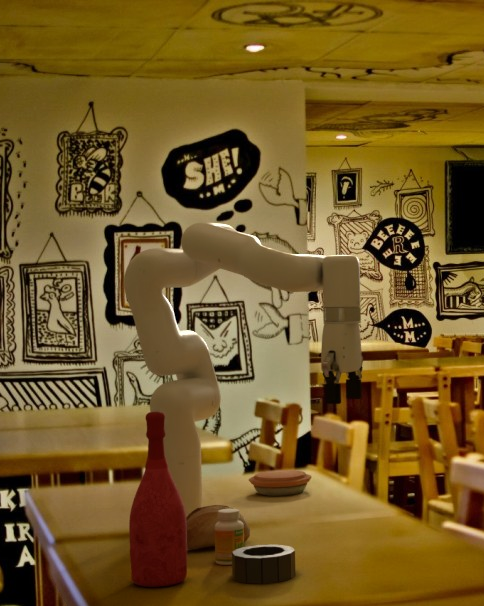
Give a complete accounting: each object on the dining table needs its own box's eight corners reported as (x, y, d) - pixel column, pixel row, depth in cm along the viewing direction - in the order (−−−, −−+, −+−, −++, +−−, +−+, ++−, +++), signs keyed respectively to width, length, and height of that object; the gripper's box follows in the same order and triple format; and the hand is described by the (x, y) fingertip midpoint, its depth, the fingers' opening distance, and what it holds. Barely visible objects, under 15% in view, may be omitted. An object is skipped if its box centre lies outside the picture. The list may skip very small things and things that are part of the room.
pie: (308, 497, 300) (307, 476, 300) (244, 498, 301) (243, 477, 300) (315, 486, 316) (314, 466, 316) (254, 487, 316) (254, 467, 316)
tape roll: (224, 583, 216) (223, 557, 216) (245, 568, 227) (244, 544, 226) (284, 584, 214) (283, 558, 214) (302, 569, 225) (301, 545, 225)
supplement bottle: (238, 565, 229) (237, 513, 229) (210, 565, 230) (209, 512, 230) (248, 559, 234) (247, 508, 234) (221, 558, 235) (220, 507, 235)
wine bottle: (135, 576, 222) (131, 409, 222) (191, 574, 223) (186, 407, 222) (126, 590, 212) (121, 415, 212) (184, 587, 213) (180, 413, 213)
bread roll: (168, 548, 245) (167, 508, 245) (234, 537, 255) (233, 498, 254) (192, 556, 238) (191, 514, 238) (259, 544, 247) (258, 504, 247)
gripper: (343, 314, 259) (345, 396, 259) (305, 318, 243) (307, 405, 243) (376, 314, 256) (377, 397, 257) (340, 317, 240) (342, 406, 240)
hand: (343, 401), depth 250 cm, fingers open, 9 cm apart
